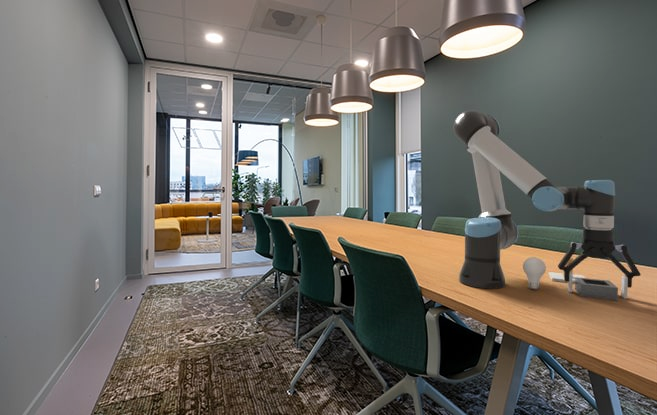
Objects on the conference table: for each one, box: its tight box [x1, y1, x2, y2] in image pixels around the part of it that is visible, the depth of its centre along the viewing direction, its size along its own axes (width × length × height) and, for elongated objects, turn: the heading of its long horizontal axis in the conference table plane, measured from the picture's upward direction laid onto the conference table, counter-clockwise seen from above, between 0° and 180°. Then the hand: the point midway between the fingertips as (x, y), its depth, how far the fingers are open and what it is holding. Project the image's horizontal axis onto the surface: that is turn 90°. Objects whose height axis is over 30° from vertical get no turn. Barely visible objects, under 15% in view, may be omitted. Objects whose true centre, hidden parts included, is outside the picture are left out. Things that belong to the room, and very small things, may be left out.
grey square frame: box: [574, 277, 619, 302], centre depth 104 cm, size 9×9×4 cm
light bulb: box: [522, 257, 547, 291], centre depth 109 cm, size 7×7×11 cm
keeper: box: [548, 257, 586, 284], centre depth 122 cm, size 11×10×8 cm
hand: (596, 294), depth 104 cm, fingers open, 13 cm apart
